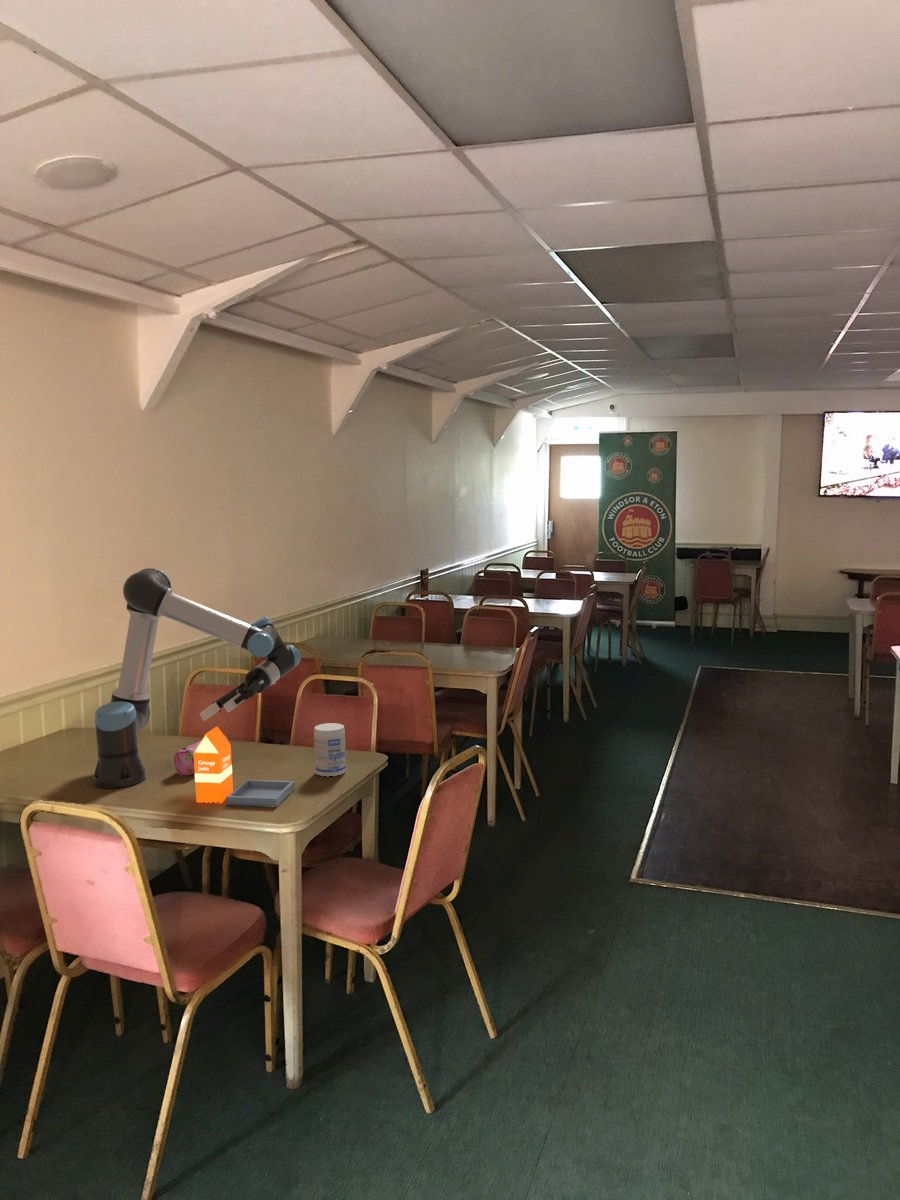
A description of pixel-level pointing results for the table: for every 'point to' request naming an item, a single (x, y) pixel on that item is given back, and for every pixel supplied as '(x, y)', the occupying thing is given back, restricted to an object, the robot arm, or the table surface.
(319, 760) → the supplement tub
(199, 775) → the orange juice
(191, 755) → the pencil case
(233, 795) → the dish
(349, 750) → the table surface
